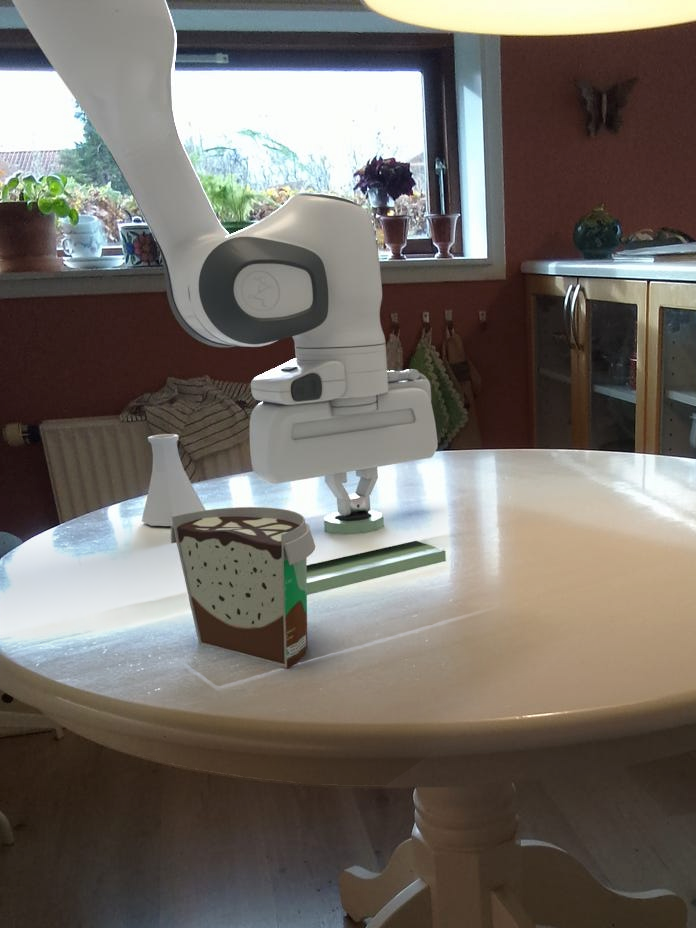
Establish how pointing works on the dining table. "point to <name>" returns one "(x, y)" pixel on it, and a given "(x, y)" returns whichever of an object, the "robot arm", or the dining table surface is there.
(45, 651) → the dining table surface
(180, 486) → the flask
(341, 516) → the tare button
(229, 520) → the food container
